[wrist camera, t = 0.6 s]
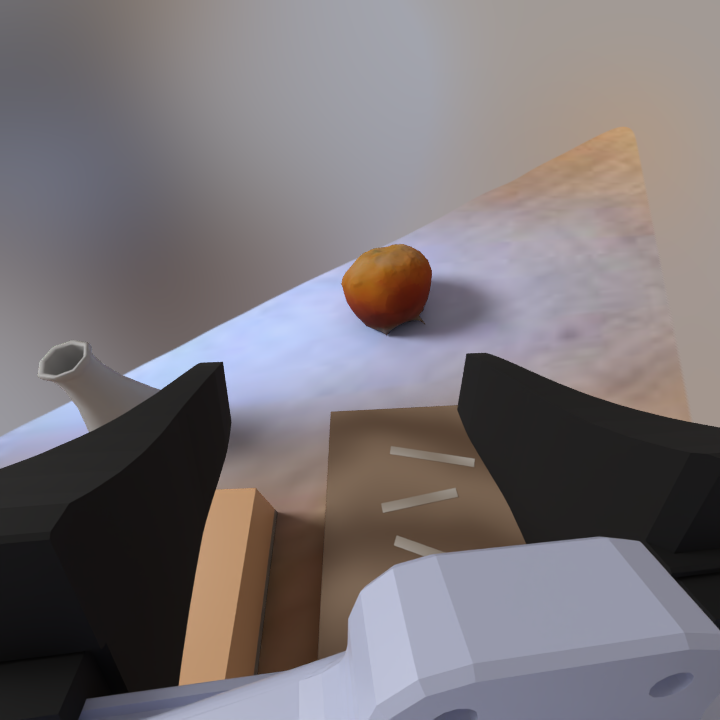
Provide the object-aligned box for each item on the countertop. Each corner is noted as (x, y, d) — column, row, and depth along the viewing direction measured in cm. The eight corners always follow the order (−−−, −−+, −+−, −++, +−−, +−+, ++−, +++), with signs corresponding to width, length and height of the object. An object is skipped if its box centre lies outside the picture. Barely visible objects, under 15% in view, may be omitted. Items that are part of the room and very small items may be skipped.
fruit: (383, 358, 33) (351, 268, 30) (352, 339, 40) (323, 264, 37) (461, 319, 35) (438, 230, 32) (418, 307, 42) (396, 233, 39)
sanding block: (255, 698, 22) (220, 705, 18) (177, 697, 22) (127, 704, 18) (277, 512, 28) (255, 488, 24) (216, 514, 28) (185, 490, 24)
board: (612, 786, 18) (626, 795, 17) (316, 778, 20) (310, 786, 18) (512, 412, 31) (516, 402, 29) (333, 421, 32) (330, 411, 31)
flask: (89, 477, 31) (-20, 414, 23) (117, 399, 36) (32, 324, 28) (179, 466, 31) (99, 399, 23) (195, 389, 35) (133, 311, 27)
